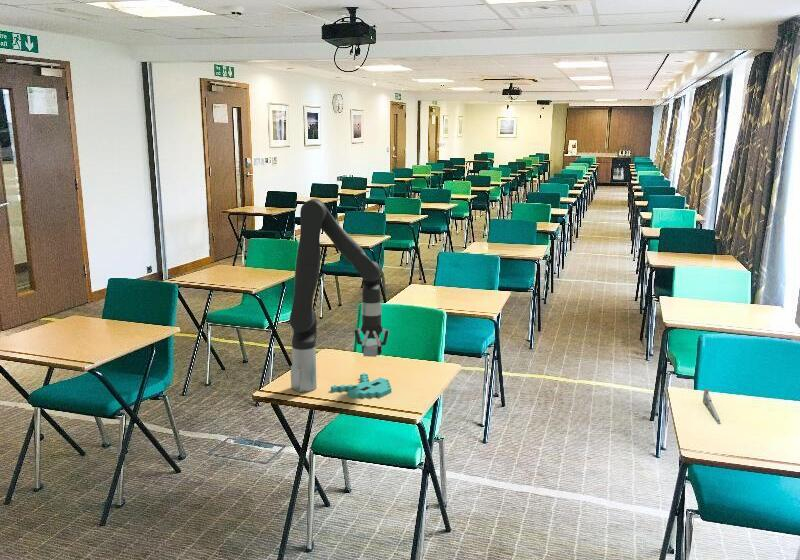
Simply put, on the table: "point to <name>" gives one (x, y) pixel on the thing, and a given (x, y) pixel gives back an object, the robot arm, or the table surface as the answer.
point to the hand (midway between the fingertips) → (372, 354)
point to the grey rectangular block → (371, 348)
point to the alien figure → (366, 388)
